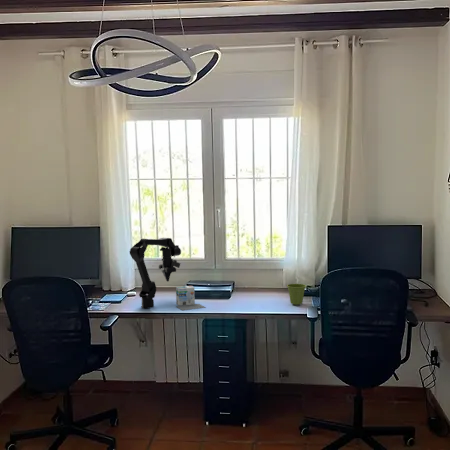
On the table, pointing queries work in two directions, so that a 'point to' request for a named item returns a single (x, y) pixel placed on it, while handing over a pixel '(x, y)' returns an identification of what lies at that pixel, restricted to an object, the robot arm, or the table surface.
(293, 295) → the plant pot
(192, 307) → the slate mat
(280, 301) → the table surface
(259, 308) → the table surface
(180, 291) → the light bulb box
